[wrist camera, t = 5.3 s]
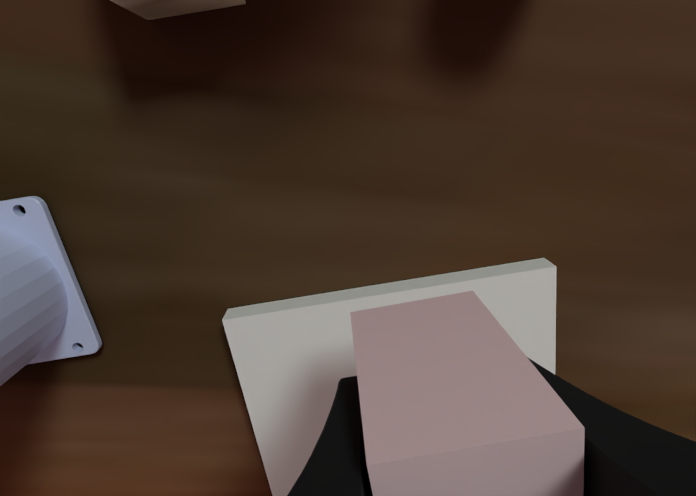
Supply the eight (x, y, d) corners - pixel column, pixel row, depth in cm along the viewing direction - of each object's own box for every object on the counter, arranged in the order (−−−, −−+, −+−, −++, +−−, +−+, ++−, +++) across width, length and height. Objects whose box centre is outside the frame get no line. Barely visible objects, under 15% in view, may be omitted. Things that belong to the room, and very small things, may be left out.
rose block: (369, 412, 14) (395, 608, 9) (350, 312, 13) (366, 465, 7) (481, 392, 14) (581, 577, 9) (472, 290, 13) (584, 427, 7)
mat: (284, 511, 25) (282, 530, 24) (228, 308, 20) (222, 320, 19) (543, 470, 25) (553, 488, 24) (543, 257, 20) (556, 266, 19)
